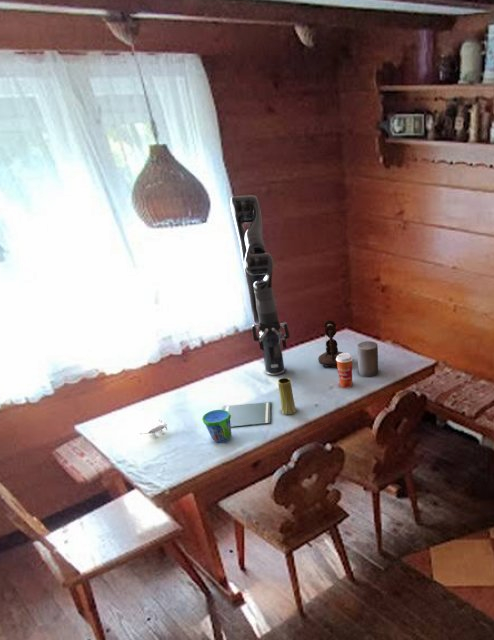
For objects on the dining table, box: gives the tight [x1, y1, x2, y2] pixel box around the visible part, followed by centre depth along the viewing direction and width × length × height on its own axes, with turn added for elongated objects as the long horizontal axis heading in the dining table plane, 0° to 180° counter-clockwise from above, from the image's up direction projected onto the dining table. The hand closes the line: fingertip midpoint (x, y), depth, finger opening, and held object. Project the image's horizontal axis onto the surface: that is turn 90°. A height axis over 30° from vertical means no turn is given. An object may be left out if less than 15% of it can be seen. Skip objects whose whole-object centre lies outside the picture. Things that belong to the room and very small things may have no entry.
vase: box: [277, 377, 297, 415], centre depth 216 cm, size 6×6×14 cm
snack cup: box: [201, 409, 232, 443], centre depth 201 cm, size 16×10×10 cm
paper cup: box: [336, 352, 354, 389], centre depth 233 cm, size 8×8×14 cm
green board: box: [223, 401, 272, 428], centre depth 218 cm, size 18×20×1 cm
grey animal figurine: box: [139, 419, 169, 438], centre depth 206 cm, size 12×5×5 cm, turn 141°
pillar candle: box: [356, 340, 380, 378], centre depth 242 cm, size 10×10×15 cm
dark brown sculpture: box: [317, 319, 344, 368], centre depth 250 cm, size 15×15×20 cm
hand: (273, 349), depth 209 cm, fingers open, 8 cm apart
